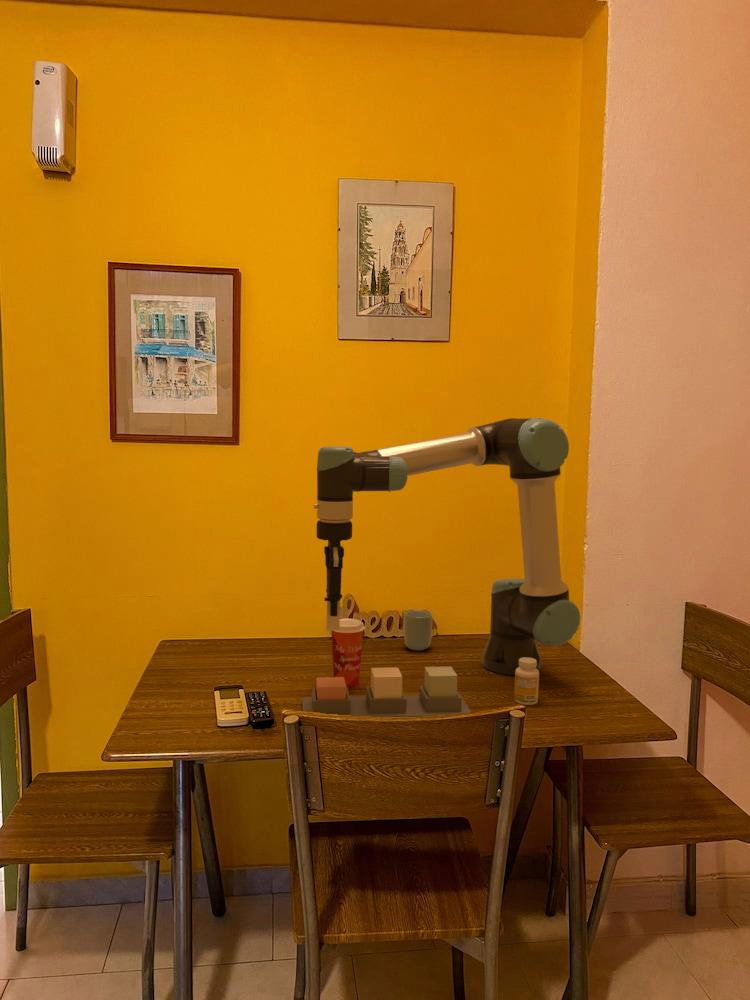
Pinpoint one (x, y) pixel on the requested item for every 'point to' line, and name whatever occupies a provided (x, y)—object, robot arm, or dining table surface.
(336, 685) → the key terracotta
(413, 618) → the cup
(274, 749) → the dining table surface
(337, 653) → the coffee cup
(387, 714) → the grey socket tray
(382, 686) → the key cream
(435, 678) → the key sage
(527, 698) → the supplement bottle
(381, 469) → the robot arm
